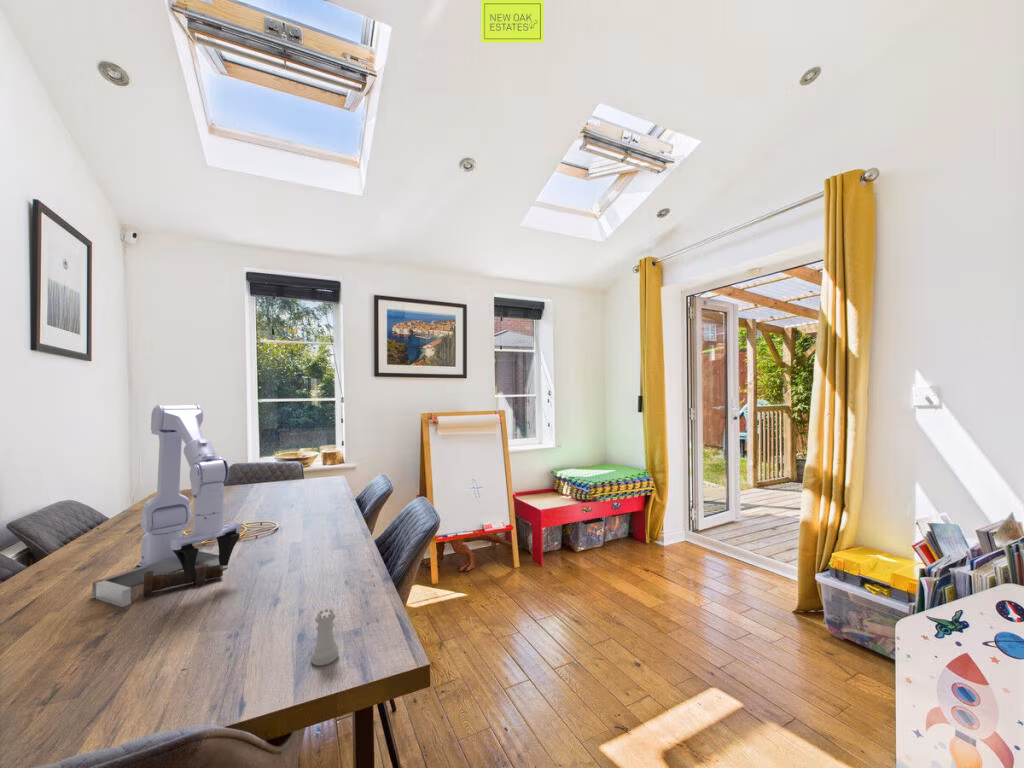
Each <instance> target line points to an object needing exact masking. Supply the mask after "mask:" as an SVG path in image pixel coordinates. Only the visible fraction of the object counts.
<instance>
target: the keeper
mask: <svg viewBox="0 0 1024 768" xmlns="http://www.w3.org/2000/svg"><path fill="white" fill-rule="evenodd" d="M198 549H199V550H198V553H197V557H196V562H195V565H198V564H205V565H206V567H208V566H209V567H210V566H213V565H214V566H215V565H220V564H219V551H215V550H211V549H210V550H209V549H207V548H206V549H205V548H198ZM228 567H229V564H228V565H227V566H223V570H224V569H227V568H228ZM182 570H183V567H182V565H181V563H180V561H179V559H178V557H177V556H174V557H170V558H167V559H164V560H161V561H158V562H155V563H151V564H148V565H145V566H139V567H135V568H134V569H133V568H132V569H130V570H127V571H124V572H120V573H117V574H114V575H111V576H108V577H104V578H101V579H98V580H95V581H92V583H91V584H92V586H91V587H92V588H91V590H92V591H91V598H92V597H93V598H92V599H94V598H96V599H95V600H98V599H99V600H98V601H101V600H102V601H101V602H105V603H107V602H108V603H107V604H110V603H111V605H114V606H117V607H120V608H125V607H126V606H129V605H131V603H132V602H131V600H132V599H131V596H132V587H134V586H138V585H140V584H144V574H145V573H146V572H148V571H153V576H155V575H160V574H165V575H166V574H168V573H169V574H170V573H175V572H179V571H182Z"/></svg>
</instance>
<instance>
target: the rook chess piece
mask: <svg viewBox="0 0 1024 768" xmlns="http://www.w3.org/2000/svg"><path fill="white" fill-rule="evenodd" d="M335 619H336V614H335V613H334V610H333V609H332V608H330V609H329V608H325V609H324V610H323V609H322V610H319V612H317V616H316V617H315V620H314V621H315V623H316V624H317V626H316V631H317V636H316V642H315V644H314V646H313V648H312V650H311V658H310V661H311V663H312V664H313V665H315V666H316V667H317V666H318V667H319V666H320V667H324V666H327V665H330V664H332V663H333V662H335V661H336V660H337V658H338V656H339V646H338V644H337V642H336V640H335V638H334V637H335V636H334V629H333V628H334V626H335V624H334V622H333V621H334V620H335Z"/></svg>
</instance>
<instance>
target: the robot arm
mask: <svg viewBox="0 0 1024 768" xmlns="http://www.w3.org/2000/svg"><path fill="white" fill-rule="evenodd" d="M150 417H151V418H150V431H151V434H152V435H156V436H158V439H159V442H158V443H159V446H158V463H157V464H158V465H157V467H158V469H157V487H156V490H157V491H156V494H155V495H154V496H153V497H151V498H149V499H148V500H146V502H144V503H143V506H142V509H141V510H142V511H141V514H140V526H141V529H142V531H143V533H144V534H143V536H142V538H141V539H140V540H141V541H140V562H137V563H136V566H139V567H142V566H145V565H148V564H151V563H155V562H158V561H161V560H164V559H167V558H170V557H174V556H177V557H178V559H179V561H180V563H181V565H182V567H183V569H182V571H184V574H185V578H189V579H192V578H194V576H195V569H196V564H195V562H196V557H197V553H198V550H199V548H196V547H195V546H194V545H196V544H199V543H202V542H206V541H208V540H212V539H216V542H217V546H218V552H219V564H220V565H222V566H227V565H228V566H229V562H230V558H231V555H232V553H233V551H234V548H235V546H236V544H237V542H238V540H239V539H240V536H241V535H240V533H238V532H241V530H242V529H241V527H242V523H241V522H231V523H227V524H224V493H225V491H224V490H225V484H226V483H227V482H228V480H229V476H230V469H229V465H228V462H227V460H226V459H225V458H222V456H218V455H217V452H216V450H215V447H214V446H213V445H212V442H211V441H210V440H209V439H206V438H204V437H203V433H202V430H201V426H202V424H203V421H204V410H203V408H202V406H200V405H199V404H198V403H197V404H196V403H195V404H174V405H172V404H171V405H169V404H168V405H165V404H164V405H161V404H156V405H155V406H154V407H153V408H152V412H151V416H150ZM182 441H183V442H184V444H185V446H184V447H183V454H184V457H185V458H186V462H187V464H188V466H189V468H190V469H189V481H190V486H191V494H192V495H193V509H191V501H190V499H189V498H188V497H187V496H186V495H184V494H182V493H180V487H181V486H180V485H181V482H180V481H181V463H182V460H181V459H182V443H183V442H182ZM192 510H193V512H192ZM192 514H193V515H192ZM192 517H193V518H192ZM191 518H192V532H190V533H187V534H185V535H184V534H183V529H185V528H186V525H188V524H189V523H190V521H191Z"/></svg>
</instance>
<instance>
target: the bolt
mask: <svg viewBox="0 0 1024 768" xmlns="http://www.w3.org/2000/svg"><path fill="white" fill-rule="evenodd" d="M223 575H224V569H223V566H222V565H215V566H214V565H213V566H210V567H209V566H206V565H205V564H196V565H195V576H194V578H192V579H189V578H185V574H184V570H180V571H175V572H172V573H168V574H166V575H165V574H160V575H155V576H153V571H148V572H146V573H145V574H144V582H143V585H142V586H143V589H142V598H144V599H145V598H149V597H152V595H153V592H157V591H158V592H159V591H162V590H164V589H168V588H173V587H178V586H179V587H180V586H182V585H190V584H193V583H194V585H195V586H202V585H205V583H206V581H208V580H214V579H219V578H221V577H223Z"/></svg>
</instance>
